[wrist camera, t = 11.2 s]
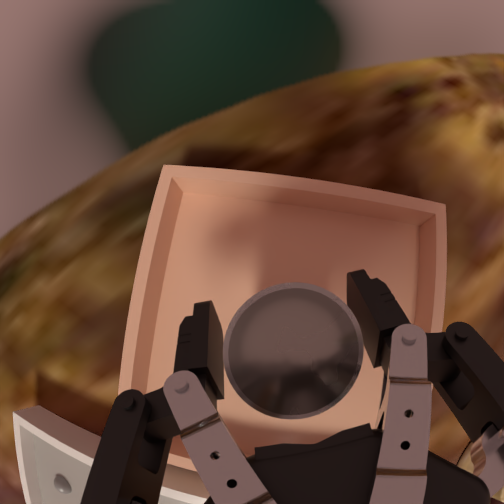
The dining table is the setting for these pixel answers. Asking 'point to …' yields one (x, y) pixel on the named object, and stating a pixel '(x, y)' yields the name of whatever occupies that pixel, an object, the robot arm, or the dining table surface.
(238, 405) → the terracotta bin
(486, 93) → the dining table surface
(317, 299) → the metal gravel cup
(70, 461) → the bin
